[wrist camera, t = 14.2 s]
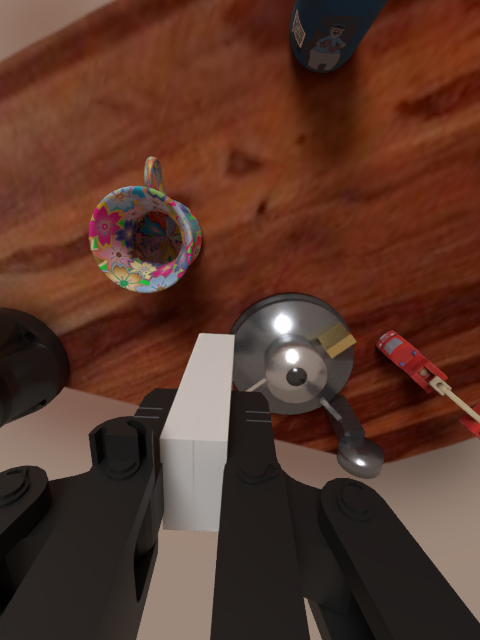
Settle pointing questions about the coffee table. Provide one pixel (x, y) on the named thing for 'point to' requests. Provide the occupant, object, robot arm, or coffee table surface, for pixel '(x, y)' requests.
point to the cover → (294, 369)
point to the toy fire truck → (425, 375)
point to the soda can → (330, 30)
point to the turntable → (300, 321)
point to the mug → (144, 235)
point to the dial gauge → (353, 440)
